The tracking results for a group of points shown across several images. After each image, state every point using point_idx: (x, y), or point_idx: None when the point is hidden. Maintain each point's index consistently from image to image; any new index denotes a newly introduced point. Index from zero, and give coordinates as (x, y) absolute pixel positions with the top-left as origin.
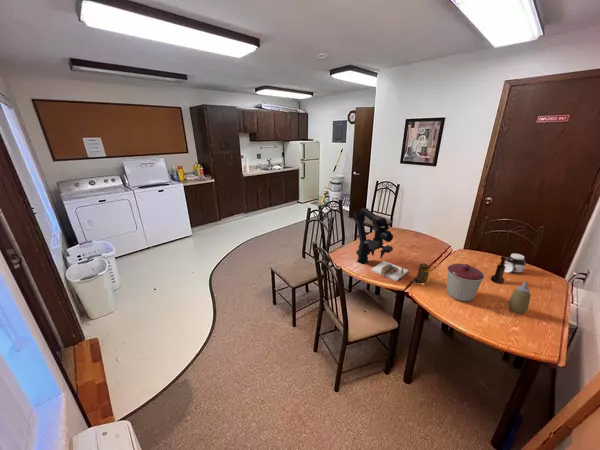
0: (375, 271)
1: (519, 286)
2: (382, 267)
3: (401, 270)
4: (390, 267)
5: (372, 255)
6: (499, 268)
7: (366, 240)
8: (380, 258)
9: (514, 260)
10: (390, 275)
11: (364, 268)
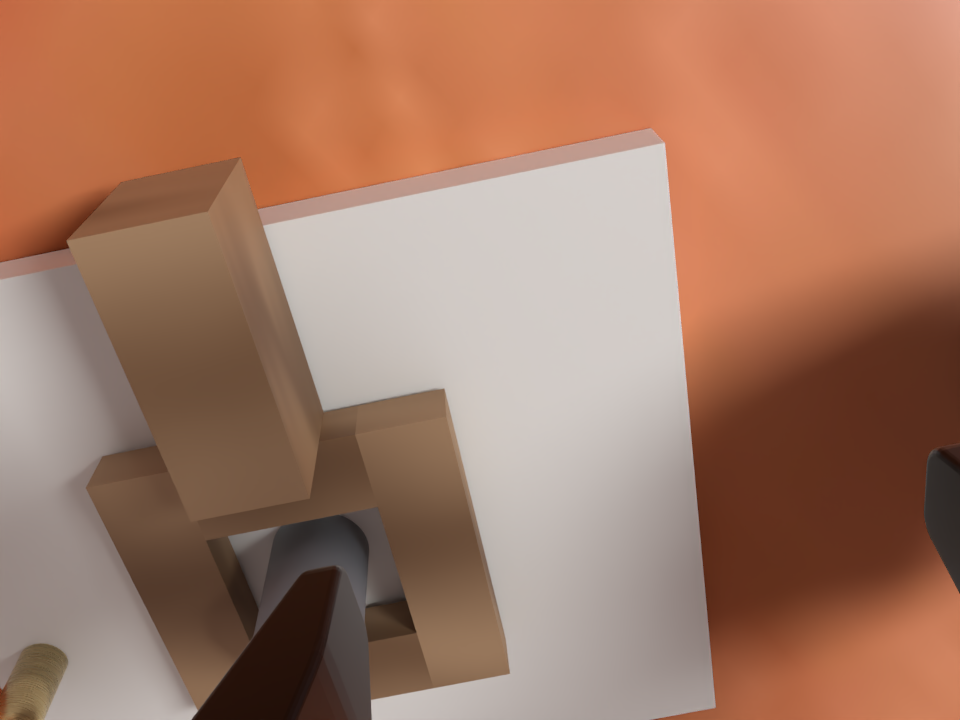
0: (500, 169)
1: None
2: (518, 484)
3: (23, 709)
4: (266, 599)
5: (958, 446)
6: None
7: None
8: (329, 569)
9: None
10: (58, 356)
11: (890, 44)
